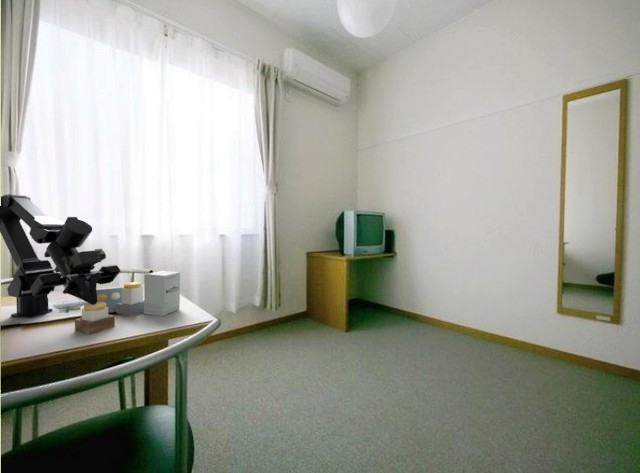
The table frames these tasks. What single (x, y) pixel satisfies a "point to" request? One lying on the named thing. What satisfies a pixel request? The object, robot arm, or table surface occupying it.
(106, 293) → the pattern card
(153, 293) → the supplement box
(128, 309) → the grey collar
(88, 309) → the lidded white jar
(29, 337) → the table surface
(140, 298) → the yellow topped white block
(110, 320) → the walnut collar
